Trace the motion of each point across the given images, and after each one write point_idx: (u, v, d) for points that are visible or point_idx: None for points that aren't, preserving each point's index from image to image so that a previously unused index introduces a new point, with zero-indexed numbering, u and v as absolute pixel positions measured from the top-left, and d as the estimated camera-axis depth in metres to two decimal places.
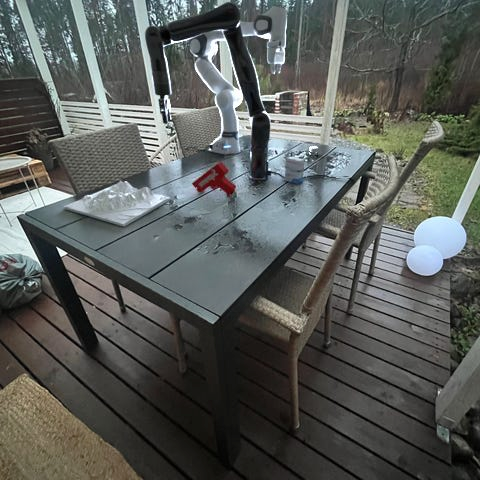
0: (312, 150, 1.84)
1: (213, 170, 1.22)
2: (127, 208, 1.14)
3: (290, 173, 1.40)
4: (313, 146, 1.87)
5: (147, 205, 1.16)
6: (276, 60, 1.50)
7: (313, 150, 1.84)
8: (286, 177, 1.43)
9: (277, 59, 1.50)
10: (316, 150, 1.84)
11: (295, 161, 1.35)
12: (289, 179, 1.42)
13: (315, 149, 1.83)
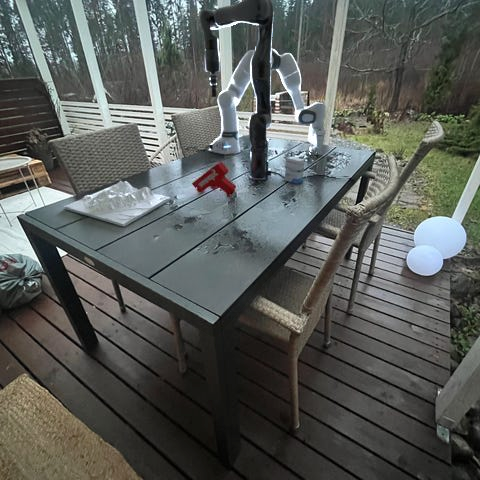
0: (312, 150, 1.84)
1: (213, 170, 1.22)
2: (127, 208, 1.14)
3: (290, 173, 1.40)
4: (313, 146, 1.87)
5: (147, 205, 1.16)
6: None
7: (313, 150, 1.84)
8: (286, 177, 1.43)
9: None
10: None
11: (295, 161, 1.35)
12: (289, 179, 1.42)
13: None
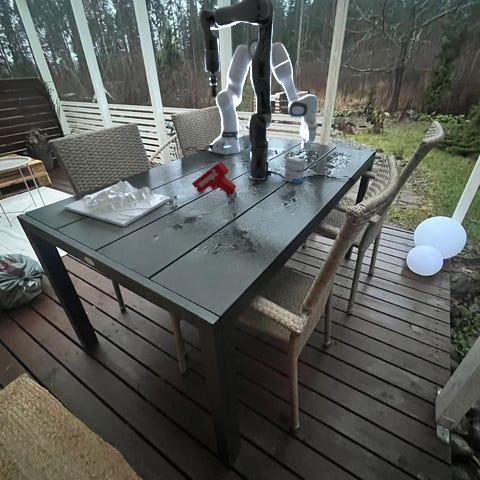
0: (304, 144, 1.78)
1: (213, 170, 1.22)
2: (127, 208, 1.14)
3: (290, 173, 1.40)
4: None
5: (147, 205, 1.16)
6: None
7: (305, 144, 1.78)
8: (286, 177, 1.43)
9: None
10: None
11: (295, 161, 1.35)
12: (289, 179, 1.42)
13: None
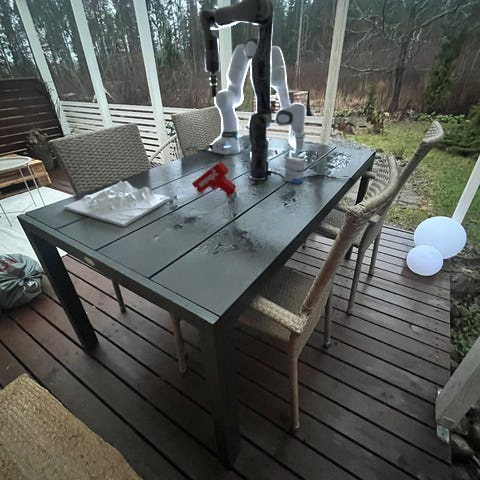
0: (292, 155, 1.75)
1: (213, 170, 1.22)
2: (127, 208, 1.14)
3: (290, 173, 1.40)
4: None
5: (147, 205, 1.16)
6: None
7: (293, 155, 1.75)
8: (286, 177, 1.43)
9: None
10: None
11: (295, 161, 1.35)
12: (289, 179, 1.42)
13: None
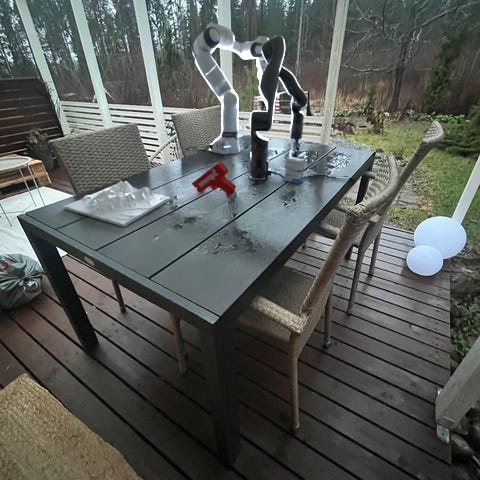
0: (292, 155, 1.75)
1: (213, 170, 1.22)
2: (127, 208, 1.14)
3: (290, 173, 1.40)
4: None
5: (147, 205, 1.16)
6: None
7: None
8: (286, 177, 1.43)
9: None
10: None
11: (295, 161, 1.35)
12: (289, 179, 1.42)
13: None
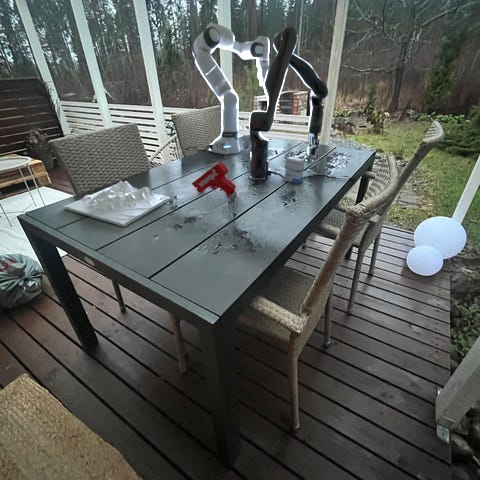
0: (310, 150, 1.63)
1: (213, 170, 1.22)
2: (127, 208, 1.14)
3: (290, 173, 1.40)
4: (311, 146, 1.66)
5: (147, 205, 1.16)
6: None
7: (311, 150, 1.64)
8: (286, 177, 1.43)
9: None
10: None
11: (295, 161, 1.35)
12: (289, 179, 1.42)
13: None
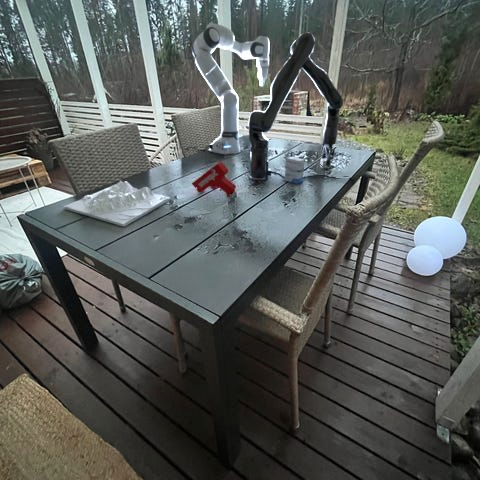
0: (324, 163, 1.59)
1: (213, 170, 1.22)
2: (127, 208, 1.14)
3: (290, 173, 1.40)
4: (325, 158, 1.62)
5: (147, 205, 1.16)
6: None
7: (325, 163, 1.60)
8: (286, 177, 1.43)
9: None
10: None
11: (295, 161, 1.35)
12: (289, 179, 1.42)
13: None
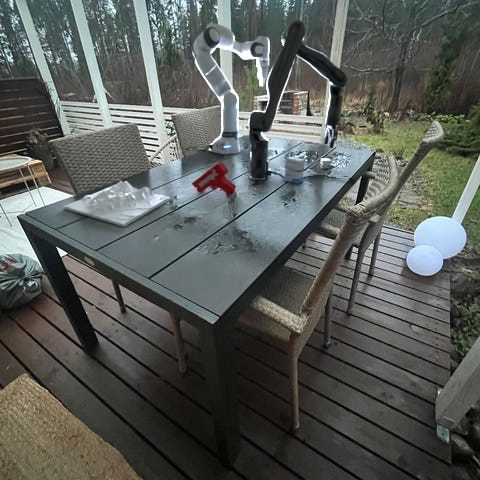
0: (324, 163, 1.59)
1: (213, 170, 1.22)
2: (127, 208, 1.14)
3: (290, 173, 1.40)
4: (325, 158, 1.62)
5: (147, 205, 1.16)
6: None
7: (325, 163, 1.60)
8: (286, 177, 1.43)
9: None
10: (328, 163, 1.60)
11: (295, 161, 1.35)
12: (289, 179, 1.42)
13: (327, 162, 1.59)
